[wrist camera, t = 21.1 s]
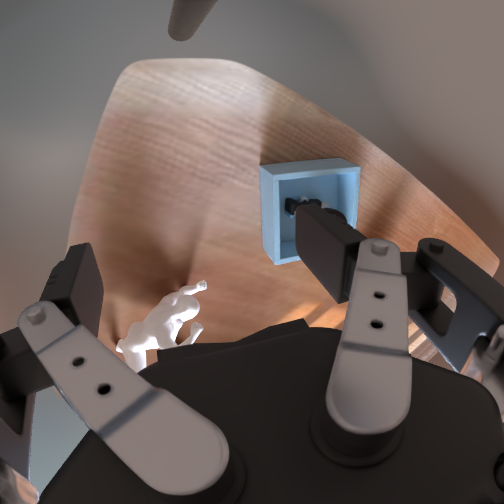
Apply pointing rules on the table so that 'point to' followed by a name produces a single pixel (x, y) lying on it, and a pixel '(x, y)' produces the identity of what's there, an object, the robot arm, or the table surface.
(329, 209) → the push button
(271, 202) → the light blue open box
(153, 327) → the person figurine
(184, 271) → the table surface
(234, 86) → the table surface
